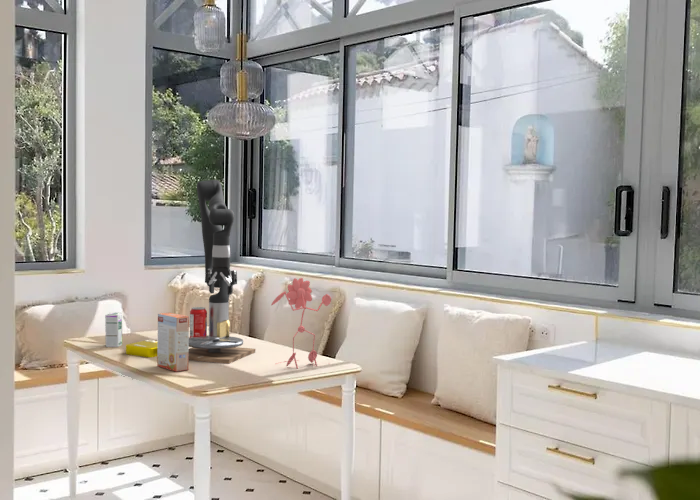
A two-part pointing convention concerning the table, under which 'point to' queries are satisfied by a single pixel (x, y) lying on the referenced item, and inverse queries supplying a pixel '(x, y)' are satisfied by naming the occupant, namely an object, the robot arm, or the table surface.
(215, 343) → the handwheel
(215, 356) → the winch base
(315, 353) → the figurine
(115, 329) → the syrup box
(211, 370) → the table surface
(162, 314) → the cracker box
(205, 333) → the soda can
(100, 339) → the table surface
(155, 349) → the element tile
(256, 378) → the table surface
